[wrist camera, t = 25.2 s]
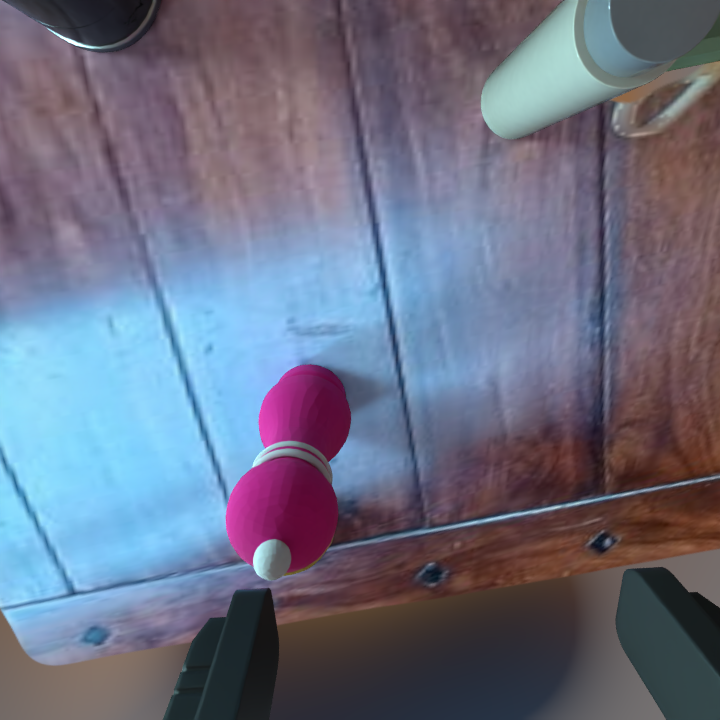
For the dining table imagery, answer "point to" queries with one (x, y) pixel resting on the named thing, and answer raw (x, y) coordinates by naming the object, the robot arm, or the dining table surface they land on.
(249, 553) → the pepper mill
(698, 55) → the green square tray
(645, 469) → the dining table surface
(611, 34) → the cylinder
